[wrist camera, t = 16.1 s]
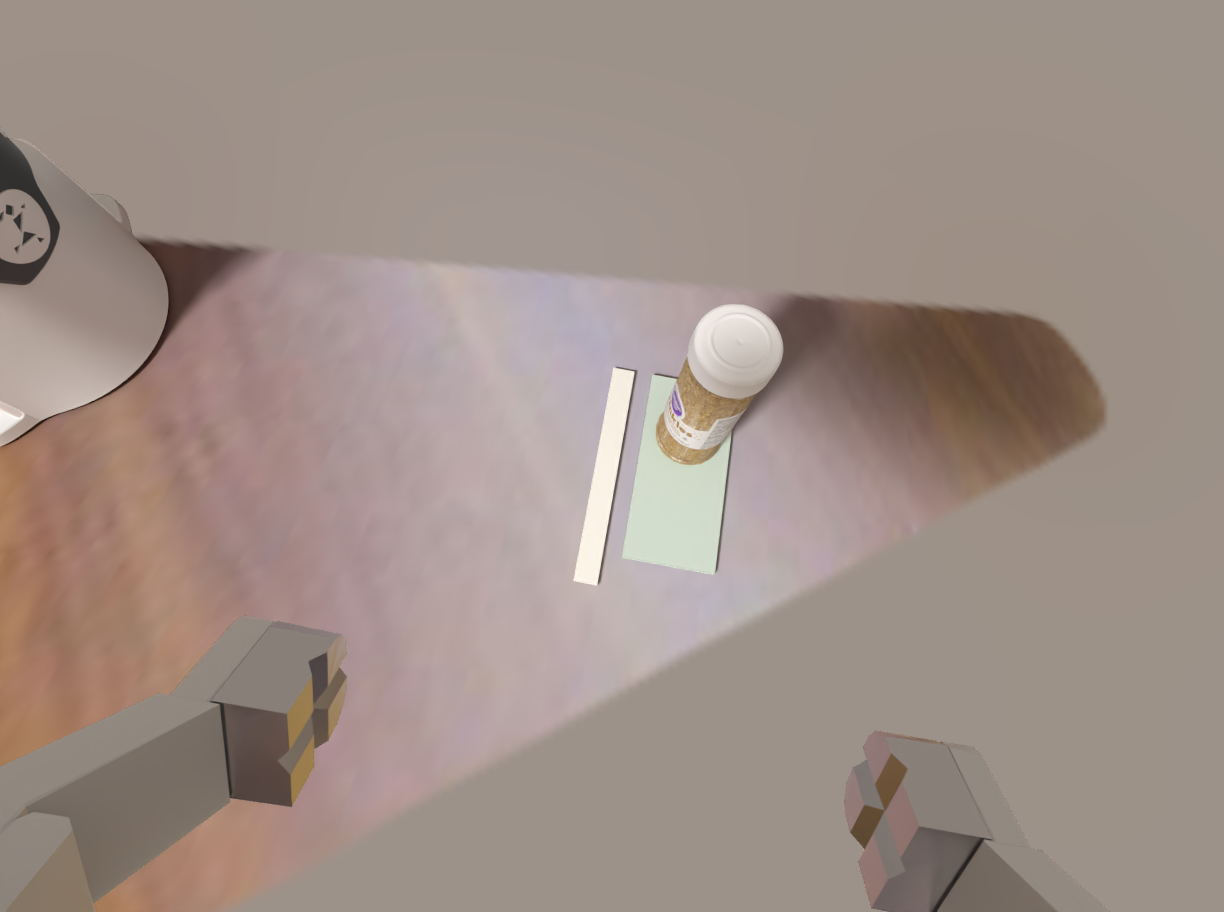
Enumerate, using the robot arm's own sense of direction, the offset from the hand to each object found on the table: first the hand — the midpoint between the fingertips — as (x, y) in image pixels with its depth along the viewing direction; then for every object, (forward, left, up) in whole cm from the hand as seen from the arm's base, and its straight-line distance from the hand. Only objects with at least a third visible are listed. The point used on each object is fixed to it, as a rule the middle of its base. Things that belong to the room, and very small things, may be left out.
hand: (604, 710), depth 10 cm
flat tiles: (+4, +14, -31) cm, 34 cm away
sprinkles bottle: (+5, +17, -31) cm, 36 cm away
